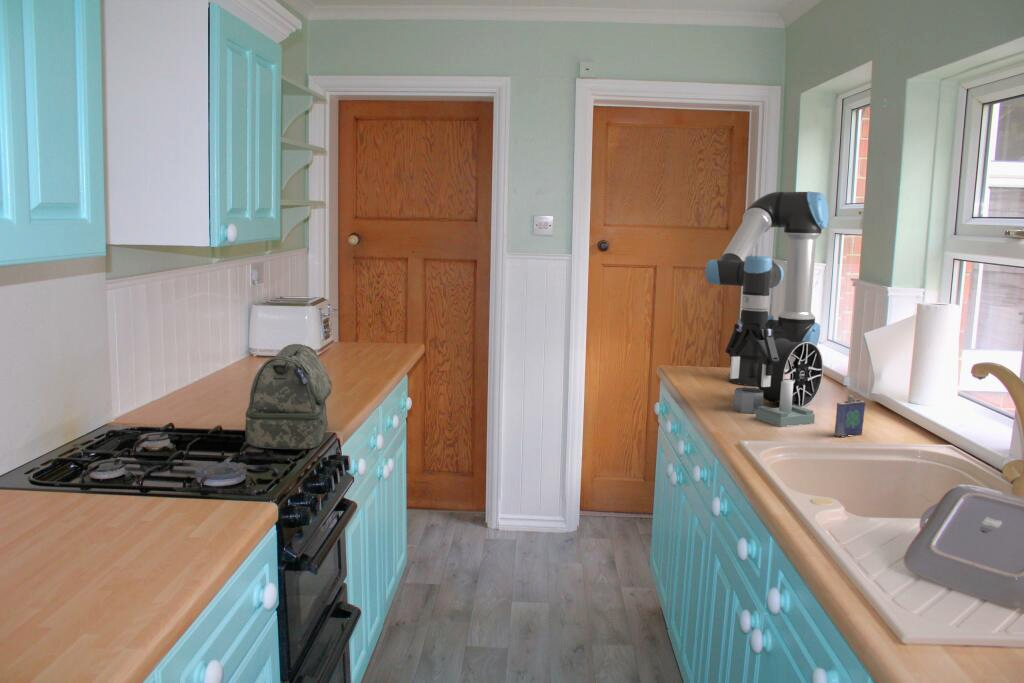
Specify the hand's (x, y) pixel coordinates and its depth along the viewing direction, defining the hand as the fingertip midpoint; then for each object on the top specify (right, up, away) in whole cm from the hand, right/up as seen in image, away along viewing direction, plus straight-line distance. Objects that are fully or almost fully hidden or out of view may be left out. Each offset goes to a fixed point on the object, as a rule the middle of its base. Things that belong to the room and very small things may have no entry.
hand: (749, 382), depth 246 cm
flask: (+19, -13, -25) cm, 34 cm away
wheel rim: (+15, -8, +10) cm, 20 cm away
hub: (0, -8, +2) cm, 8 cm away
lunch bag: (-123, -12, -41) cm, 130 cm away
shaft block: (+7, -10, -11) cm, 16 cm away
